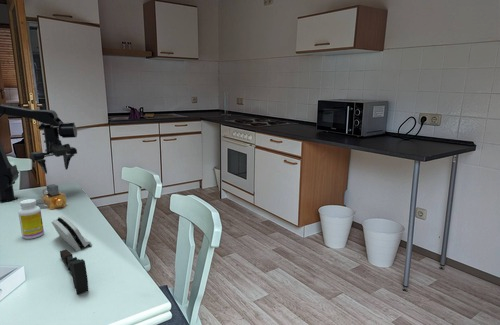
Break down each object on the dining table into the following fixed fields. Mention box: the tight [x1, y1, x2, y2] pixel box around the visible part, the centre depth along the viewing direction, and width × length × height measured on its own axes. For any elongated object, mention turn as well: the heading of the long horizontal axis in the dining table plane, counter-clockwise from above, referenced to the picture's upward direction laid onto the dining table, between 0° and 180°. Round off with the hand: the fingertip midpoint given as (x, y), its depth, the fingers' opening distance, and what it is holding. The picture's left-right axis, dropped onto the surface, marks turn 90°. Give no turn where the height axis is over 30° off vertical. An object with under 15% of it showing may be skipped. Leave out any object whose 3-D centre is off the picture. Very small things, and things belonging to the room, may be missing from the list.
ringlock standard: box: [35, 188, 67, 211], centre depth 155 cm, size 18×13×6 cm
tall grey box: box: [46, 183, 60, 197], centre depth 153 cm, size 4×3×8 cm
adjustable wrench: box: [59, 248, 89, 295], centre depth 100 cm, size 8×3×25 cm
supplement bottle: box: [17, 198, 45, 240], centre depth 124 cm, size 7×7×13 cm
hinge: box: [51, 215, 93, 252], centre depth 119 cm, size 17×5×10 cm, turn 45°
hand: (56, 171), depth 165 cm, fingers open, 9 cm apart
